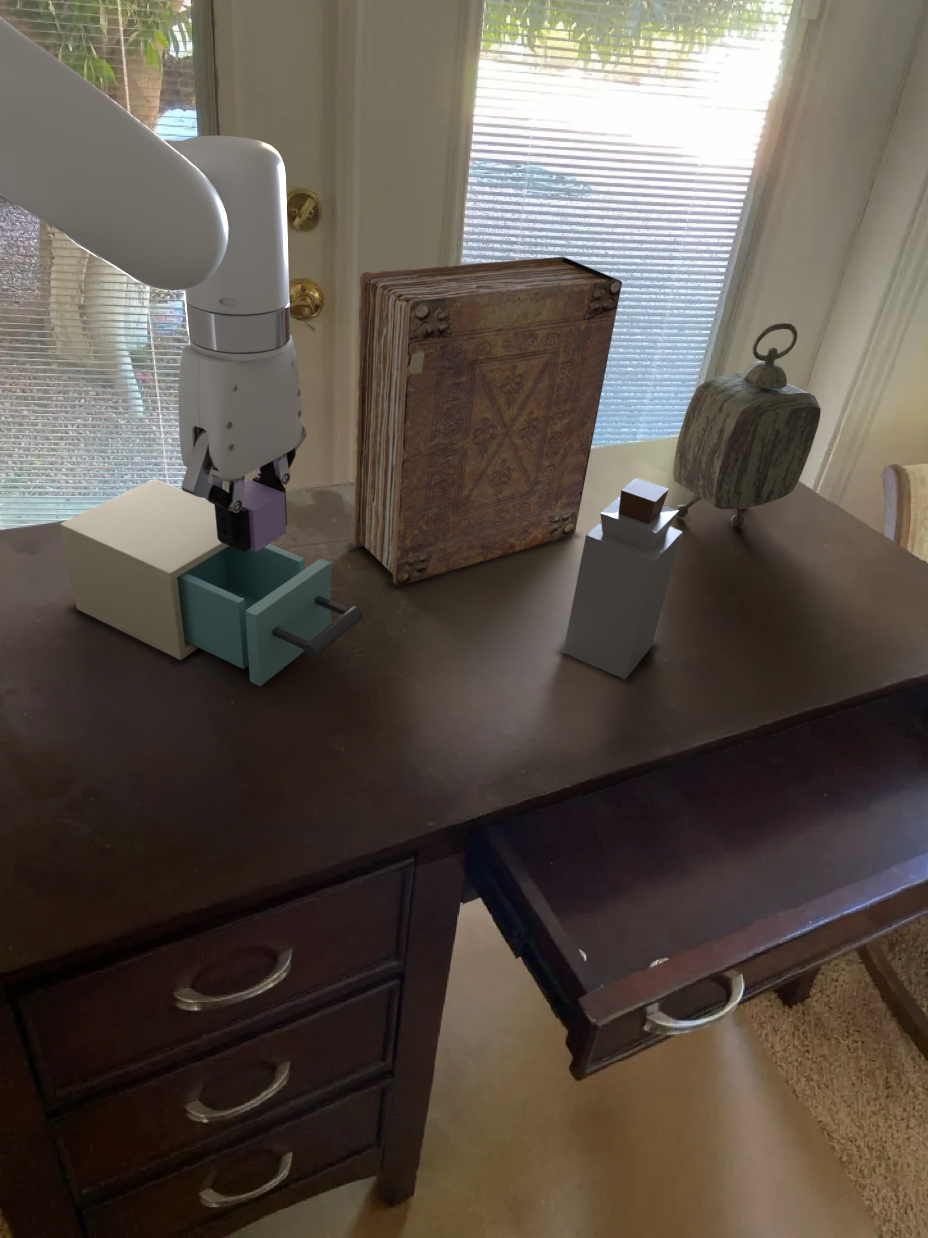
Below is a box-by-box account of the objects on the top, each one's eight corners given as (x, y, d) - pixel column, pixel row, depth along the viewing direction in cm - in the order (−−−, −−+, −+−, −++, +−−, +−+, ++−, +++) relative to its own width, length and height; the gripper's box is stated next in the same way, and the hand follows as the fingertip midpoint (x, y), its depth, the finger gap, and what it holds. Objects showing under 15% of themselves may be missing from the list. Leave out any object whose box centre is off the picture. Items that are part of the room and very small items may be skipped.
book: (393, 587, 95) (407, 301, 77) (352, 546, 101) (357, 272, 83) (575, 535, 107) (623, 278, 90) (529, 501, 113) (566, 254, 96)
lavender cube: (256, 552, 75) (253, 510, 73) (220, 537, 77) (216, 496, 74) (286, 532, 78) (284, 492, 76) (251, 518, 80) (248, 478, 77)
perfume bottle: (651, 646, 90) (694, 488, 80) (625, 679, 85) (666, 516, 75) (592, 621, 93) (626, 464, 82) (563, 652, 88) (594, 490, 78)
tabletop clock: (738, 493, 120) (795, 306, 106) (789, 524, 114) (857, 331, 100) (659, 513, 113) (708, 317, 99) (709, 548, 108) (769, 344, 93)
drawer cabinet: (263, 602, 90) (259, 520, 85) (180, 660, 82) (169, 573, 76) (164, 558, 95) (154, 478, 89) (76, 609, 87) (58, 523, 81)
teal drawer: (372, 648, 84) (375, 580, 80) (304, 708, 77) (303, 636, 72) (231, 586, 91) (226, 519, 86) (155, 635, 83) (145, 565, 78)
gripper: (272, 289, 74) (280, 485, 85) (116, 340, 62) (149, 561, 73) (346, 310, 71) (344, 510, 82) (197, 367, 59) (219, 592, 70)
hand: (252, 532), depth 77 cm, fingers closed on lavender cube, 4 cm apart
